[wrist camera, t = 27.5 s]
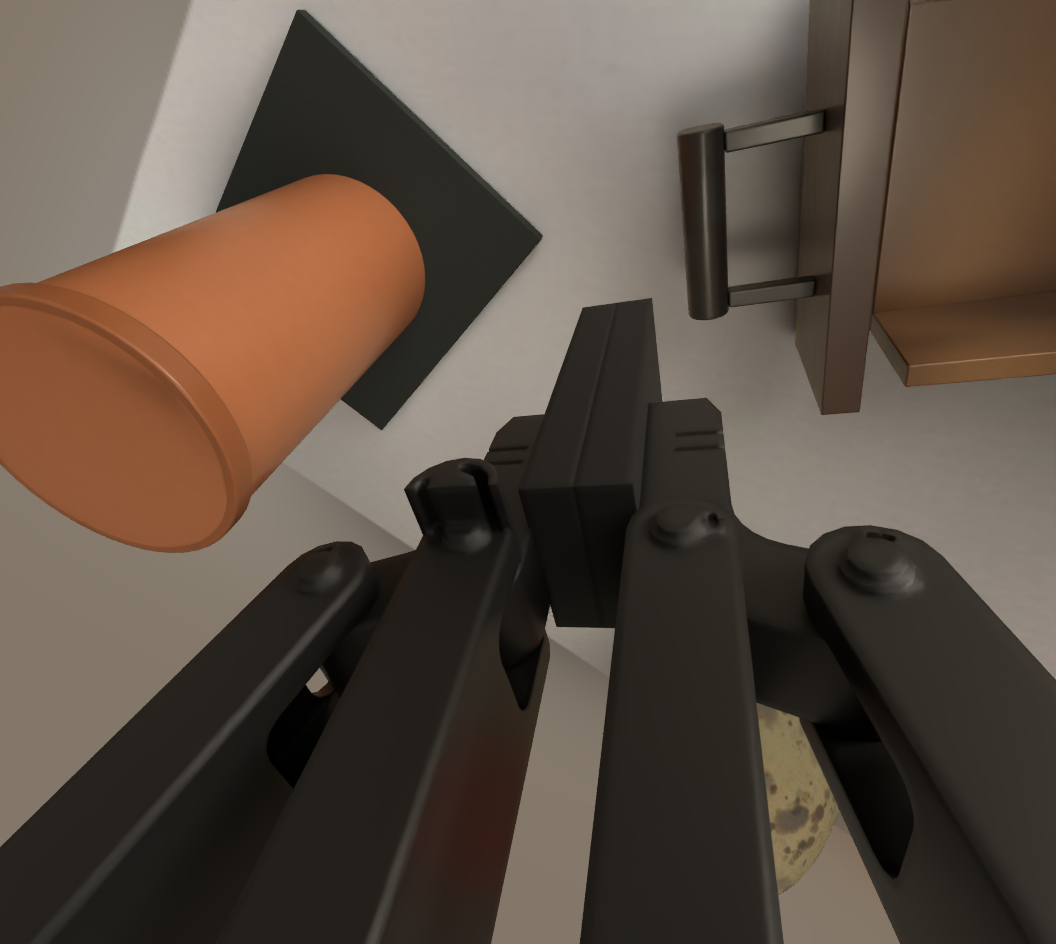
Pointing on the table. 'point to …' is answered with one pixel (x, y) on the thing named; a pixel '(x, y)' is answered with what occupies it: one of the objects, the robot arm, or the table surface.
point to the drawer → (905, 195)
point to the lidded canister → (199, 358)
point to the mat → (402, 178)
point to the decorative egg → (793, 796)
